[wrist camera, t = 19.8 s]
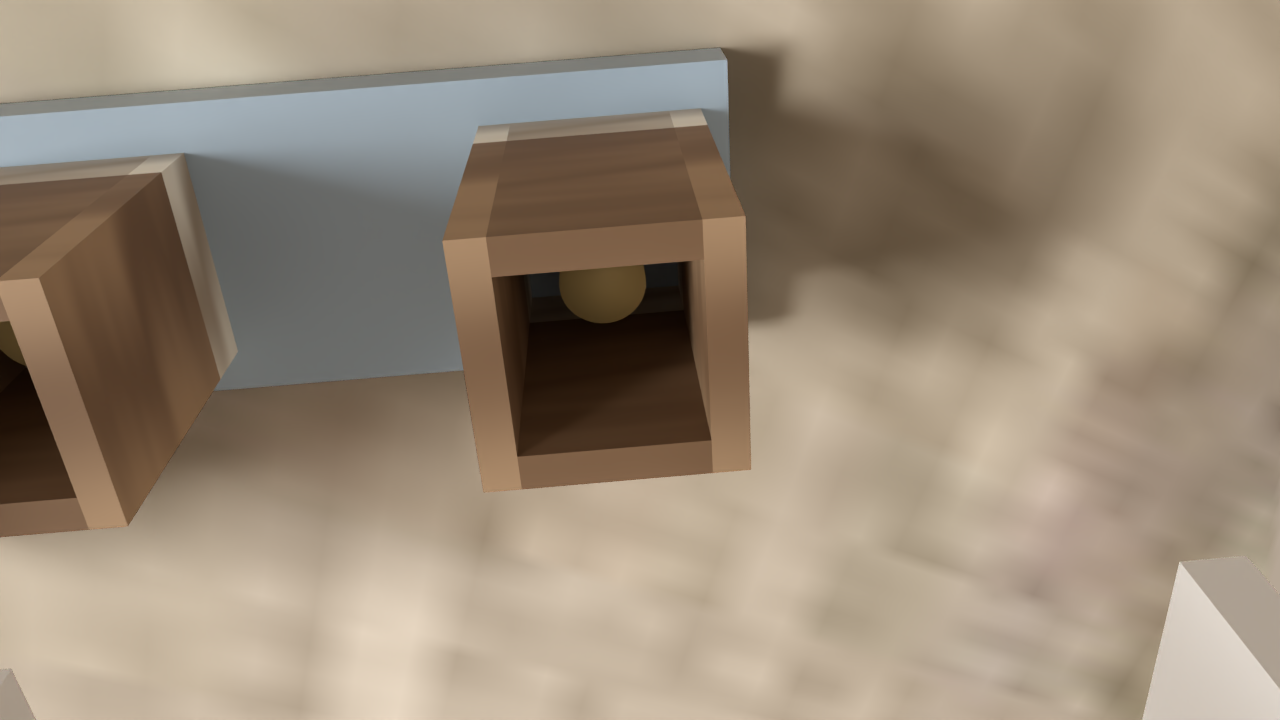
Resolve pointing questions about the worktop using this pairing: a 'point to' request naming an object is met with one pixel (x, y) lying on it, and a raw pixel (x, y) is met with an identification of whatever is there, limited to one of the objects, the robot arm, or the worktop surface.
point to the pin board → (359, 196)
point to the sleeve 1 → (101, 336)
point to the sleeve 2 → (601, 352)
